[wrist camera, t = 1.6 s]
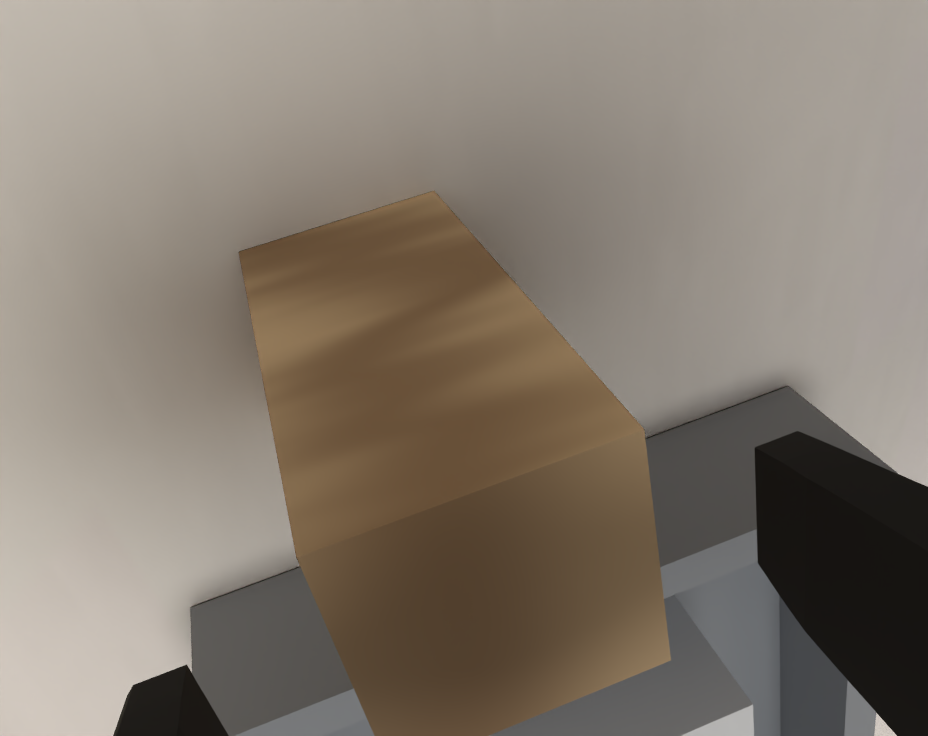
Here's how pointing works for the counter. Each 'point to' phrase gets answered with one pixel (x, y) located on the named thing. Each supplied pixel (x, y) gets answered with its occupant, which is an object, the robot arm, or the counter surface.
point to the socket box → (631, 700)
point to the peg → (451, 476)
